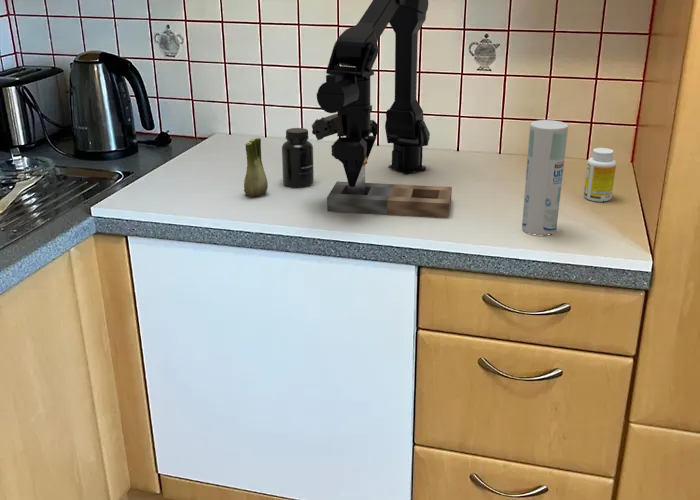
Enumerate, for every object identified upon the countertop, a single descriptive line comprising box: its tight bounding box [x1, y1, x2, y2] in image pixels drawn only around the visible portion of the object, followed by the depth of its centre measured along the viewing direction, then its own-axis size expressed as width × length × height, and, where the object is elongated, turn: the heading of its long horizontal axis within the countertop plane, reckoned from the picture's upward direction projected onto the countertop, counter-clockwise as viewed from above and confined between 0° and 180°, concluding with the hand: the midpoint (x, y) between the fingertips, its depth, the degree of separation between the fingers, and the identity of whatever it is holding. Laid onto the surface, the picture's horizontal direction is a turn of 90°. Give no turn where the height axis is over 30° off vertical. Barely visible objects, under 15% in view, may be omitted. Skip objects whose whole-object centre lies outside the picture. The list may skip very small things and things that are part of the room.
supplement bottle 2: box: [583, 147, 617, 203], centre depth 154 cm, size 6×6×10 cm
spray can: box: [521, 119, 569, 236], centre depth 137 cm, size 6×6×20 cm
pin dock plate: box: [326, 180, 453, 219], centre depth 153 cm, size 24×10×3 cm, turn 80°
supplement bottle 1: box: [281, 127, 315, 189], centre depth 165 cm, size 7×7×12 cm
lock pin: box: [346, 156, 368, 195], centre depth 152 cm, size 4×4×10 cm
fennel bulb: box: [243, 137, 268, 197], centre depth 158 cm, size 6×5×12 cm
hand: (356, 179), depth 152 cm, fingers open, 9 cm apart
